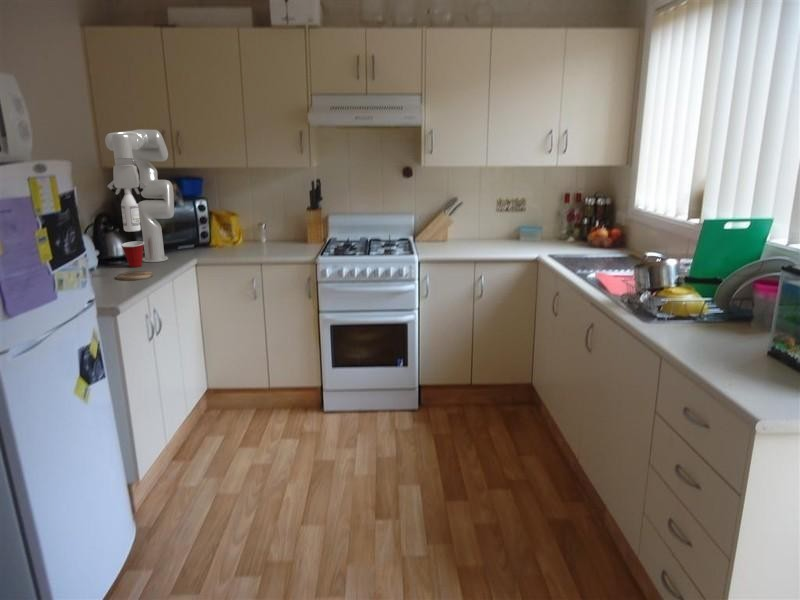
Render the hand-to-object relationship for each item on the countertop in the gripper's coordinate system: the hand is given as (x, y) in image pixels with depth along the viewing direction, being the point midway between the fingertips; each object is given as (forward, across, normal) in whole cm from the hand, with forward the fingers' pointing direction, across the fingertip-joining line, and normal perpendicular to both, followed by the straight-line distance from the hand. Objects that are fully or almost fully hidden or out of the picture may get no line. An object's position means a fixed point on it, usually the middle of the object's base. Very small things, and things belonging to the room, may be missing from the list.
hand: (129, 202), depth 249 cm
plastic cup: (+34, +4, -24) cm, 42 cm away
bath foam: (+13, 0, 0) cm, 13 cm away
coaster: (+34, +1, +1) cm, 34 cm away
